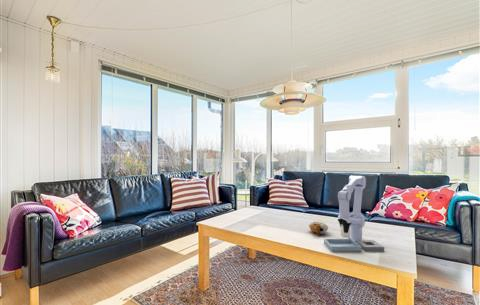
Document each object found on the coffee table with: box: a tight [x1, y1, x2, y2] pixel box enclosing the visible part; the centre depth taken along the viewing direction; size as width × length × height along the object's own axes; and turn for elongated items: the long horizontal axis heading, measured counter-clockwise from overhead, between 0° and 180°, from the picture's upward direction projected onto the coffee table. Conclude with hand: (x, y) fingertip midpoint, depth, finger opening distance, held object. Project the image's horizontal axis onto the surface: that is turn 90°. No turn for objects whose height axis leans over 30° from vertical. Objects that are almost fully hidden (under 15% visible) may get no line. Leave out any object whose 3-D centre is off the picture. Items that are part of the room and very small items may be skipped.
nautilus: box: [308, 221, 329, 237], centre depth 180 cm, size 8×22×15 cm
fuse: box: [340, 224, 350, 238], centre depth 151 cm, size 4×4×7 cm
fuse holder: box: [355, 239, 385, 252], centre depth 151 cm, size 12×12×2 cm
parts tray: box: [323, 238, 363, 253], centre depth 151 cm, size 14×18×3 cm
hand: (344, 231), depth 151 cm, fingers closed on fuse, 4 cm apart
